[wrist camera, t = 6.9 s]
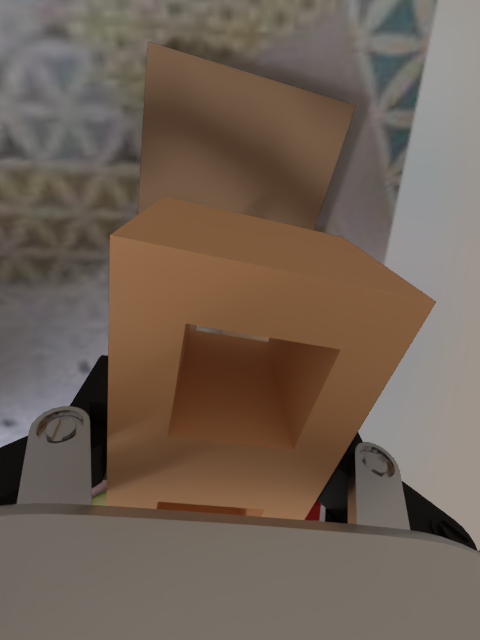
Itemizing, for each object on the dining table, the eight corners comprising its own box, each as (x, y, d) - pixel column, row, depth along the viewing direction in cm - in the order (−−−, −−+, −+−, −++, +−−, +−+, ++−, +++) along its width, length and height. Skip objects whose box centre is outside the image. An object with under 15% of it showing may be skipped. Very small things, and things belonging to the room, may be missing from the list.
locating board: (254, 391, 30) (260, 431, 25) (132, 375, 28) (115, 415, 24) (346, 109, 19) (384, 94, 14) (153, 50, 17) (130, 13, 12)
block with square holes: (164, 196, 9) (110, 235, 5) (343, 237, 10) (435, 302, 6) (140, 448, 15) (105, 571, 10) (256, 460, 16) (268, 578, 11)
